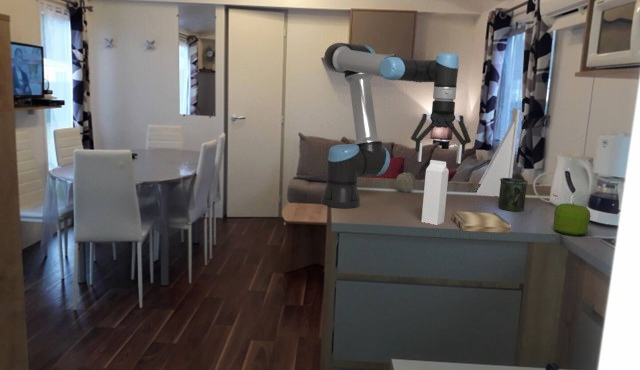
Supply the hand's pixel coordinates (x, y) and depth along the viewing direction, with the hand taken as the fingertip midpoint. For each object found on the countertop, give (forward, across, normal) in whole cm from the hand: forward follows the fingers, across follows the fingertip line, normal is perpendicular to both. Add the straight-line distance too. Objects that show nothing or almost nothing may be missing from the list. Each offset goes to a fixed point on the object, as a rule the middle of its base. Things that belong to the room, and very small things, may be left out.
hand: (438, 162), depth 183 cm
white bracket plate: (+22, +40, +61) cm, 76 cm away
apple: (+22, +46, -6) cm, 51 cm away
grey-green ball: (+21, -2, +56) cm, 60 cm away
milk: (+22, 0, 0) cm, 22 cm away
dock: (+22, +16, -2) cm, 27 cm away
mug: (+22, +38, +28) cm, 52 cm away
